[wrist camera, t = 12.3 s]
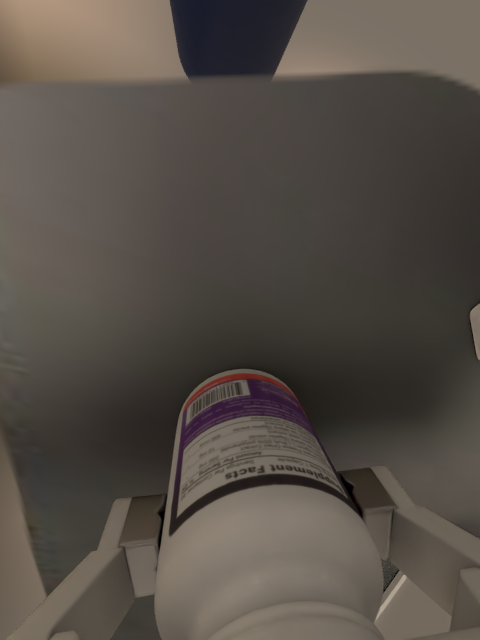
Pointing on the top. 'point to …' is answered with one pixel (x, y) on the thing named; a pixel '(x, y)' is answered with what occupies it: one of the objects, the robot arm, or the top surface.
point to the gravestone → (409, 612)
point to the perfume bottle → (476, 328)
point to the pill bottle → (260, 525)
